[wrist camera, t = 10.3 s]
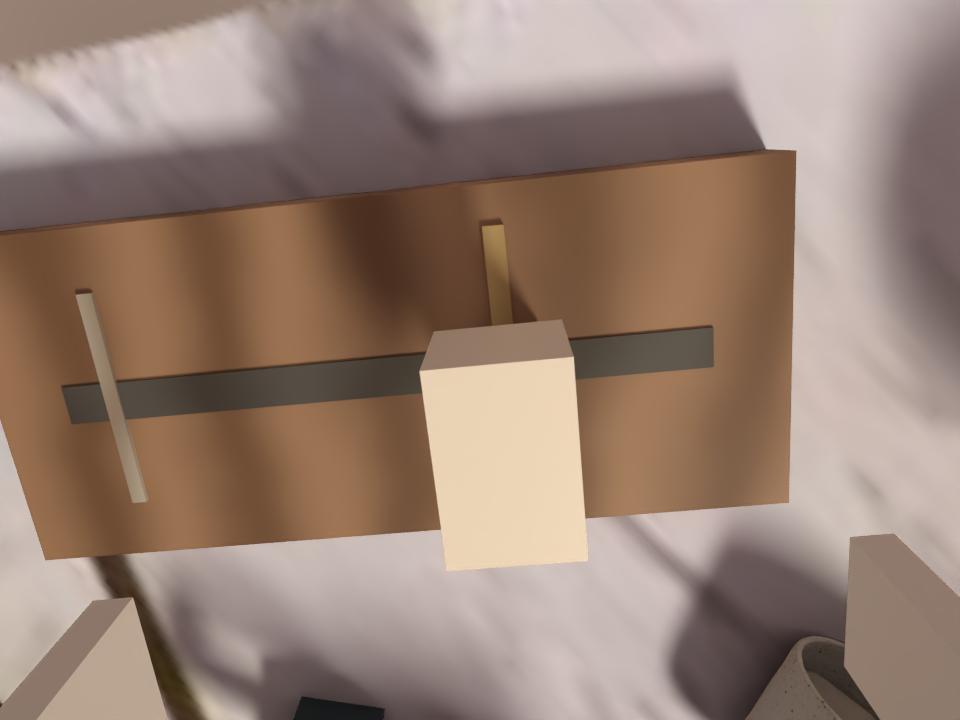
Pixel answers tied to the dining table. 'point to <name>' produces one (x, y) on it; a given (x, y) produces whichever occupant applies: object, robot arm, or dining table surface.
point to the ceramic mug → (813, 686)
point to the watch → (335, 711)
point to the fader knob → (505, 445)
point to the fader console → (393, 350)
